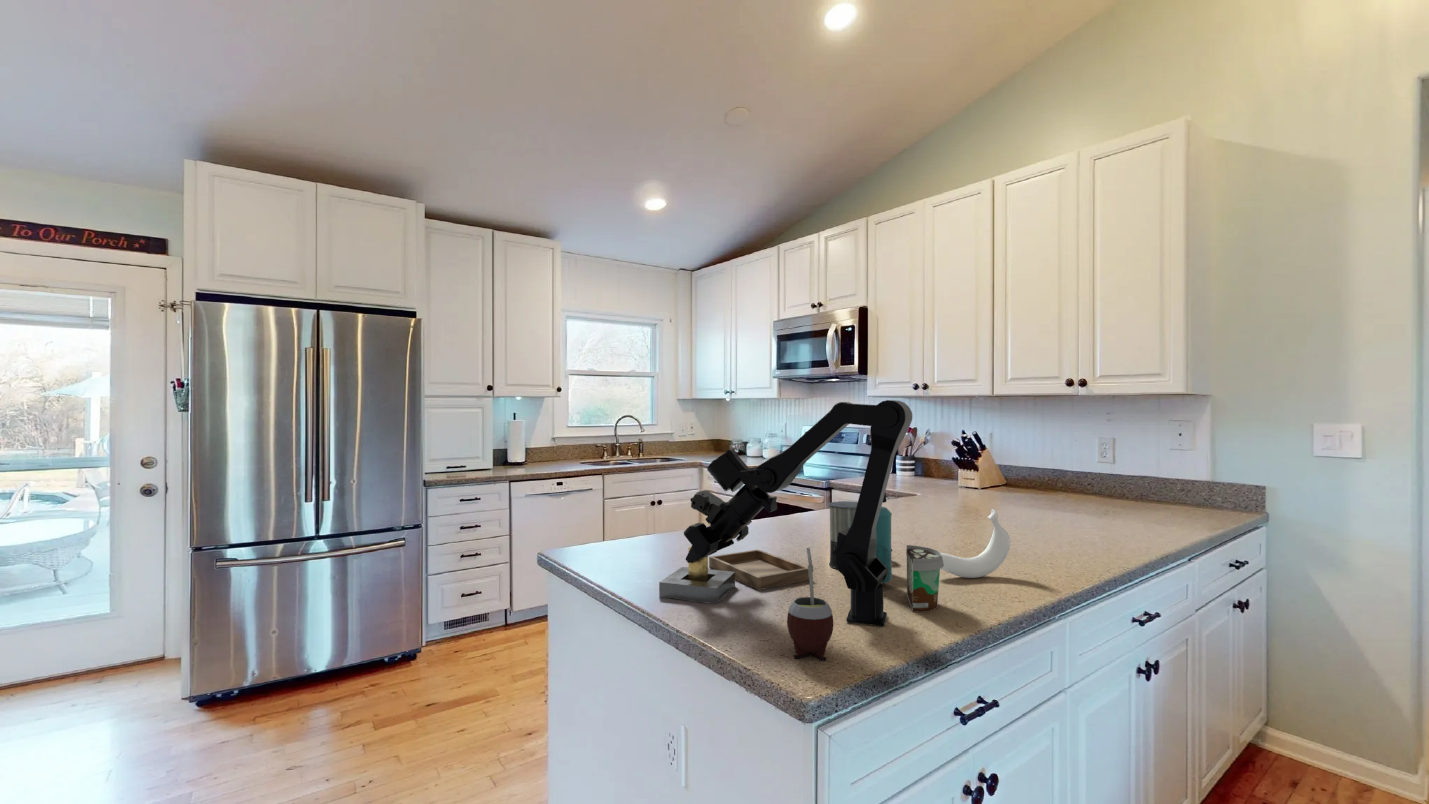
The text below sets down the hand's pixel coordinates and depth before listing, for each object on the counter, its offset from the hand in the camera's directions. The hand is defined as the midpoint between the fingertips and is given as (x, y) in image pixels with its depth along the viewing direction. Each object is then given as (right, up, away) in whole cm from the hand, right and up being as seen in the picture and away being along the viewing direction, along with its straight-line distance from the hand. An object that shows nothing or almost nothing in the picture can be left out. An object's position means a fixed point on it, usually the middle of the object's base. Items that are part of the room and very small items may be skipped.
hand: (692, 558), depth 125 cm
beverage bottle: (+39, -7, +3) cm, 39 cm away
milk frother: (+40, -7, +21) cm, 45 cm away
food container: (+45, -7, -9) cm, 46 cm away
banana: (+61, -7, +10) cm, 62 cm away
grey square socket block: (+1, -7, -1) cm, 7 cm away
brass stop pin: (+1, -7, -1) cm, 7 cm away
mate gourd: (+19, -7, -31) cm, 37 cm away
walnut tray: (+14, -7, +13) cm, 20 cm away
